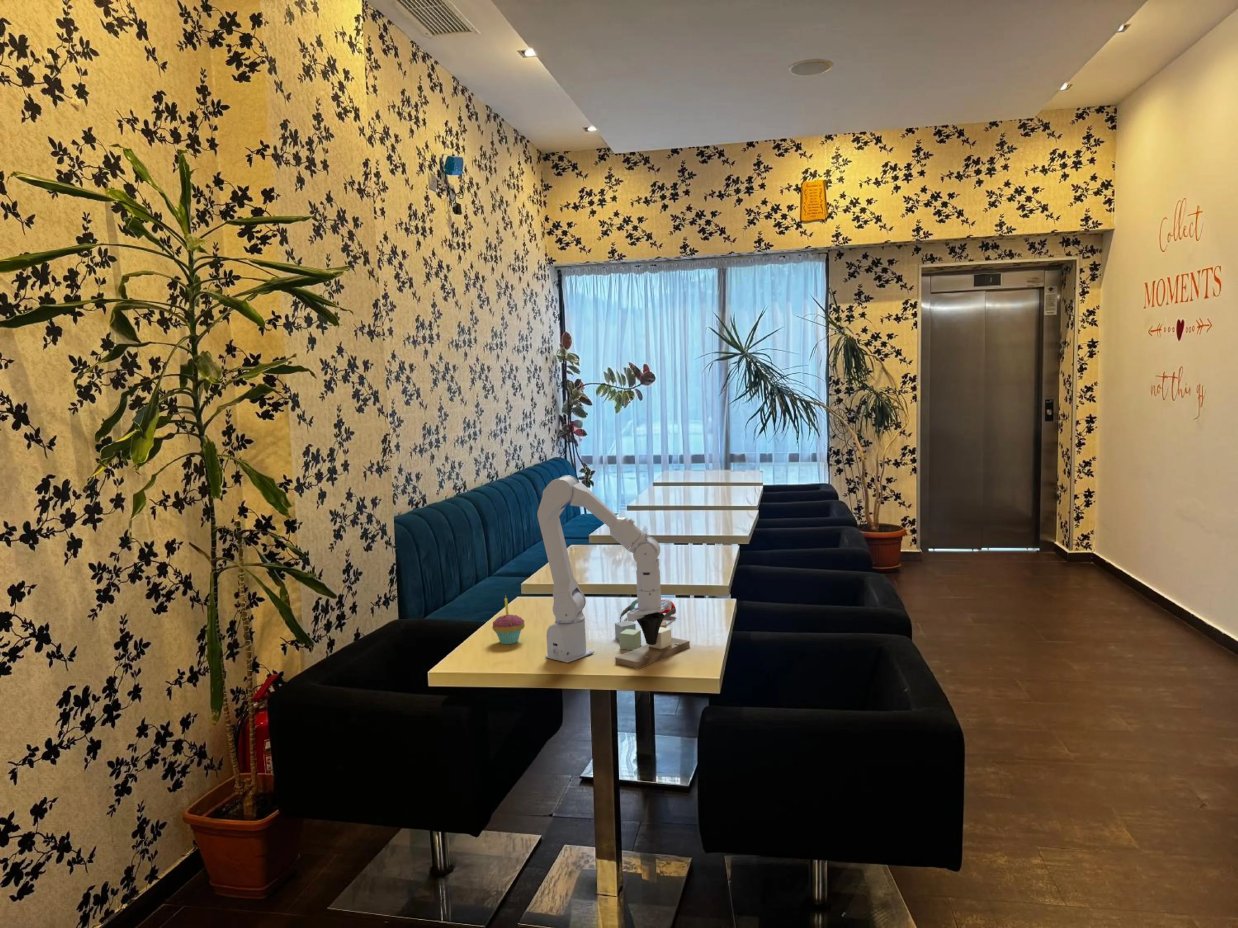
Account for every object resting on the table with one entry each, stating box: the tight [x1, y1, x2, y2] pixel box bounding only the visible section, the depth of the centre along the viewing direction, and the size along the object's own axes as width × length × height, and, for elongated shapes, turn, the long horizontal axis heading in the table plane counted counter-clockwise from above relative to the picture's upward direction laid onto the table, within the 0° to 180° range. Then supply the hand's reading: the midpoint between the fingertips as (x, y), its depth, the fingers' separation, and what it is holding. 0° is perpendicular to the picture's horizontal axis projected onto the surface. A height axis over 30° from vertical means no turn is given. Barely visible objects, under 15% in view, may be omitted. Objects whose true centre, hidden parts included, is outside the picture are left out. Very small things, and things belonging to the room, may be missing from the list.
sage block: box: [619, 629, 642, 651], centre depth 213 cm, size 4×4×4 cm
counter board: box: [614, 636, 691, 669], centre depth 206 cm, size 20×7×2 cm, turn 139°
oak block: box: [660, 620, 667, 628], centre depth 220 cm, size 4×4×4 cm
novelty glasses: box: [619, 598, 677, 622], centre depth 237 cm, size 14×15×5 cm
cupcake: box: [491, 595, 526, 645], centre depth 222 cm, size 9×8×12 cm
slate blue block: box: [614, 620, 637, 641], centre depth 221 cm, size 4×4×4 cm
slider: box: [649, 627, 672, 649], centre depth 207 cm, size 4×4×4 cm
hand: (651, 643), depth 205 cm, fingers closed
